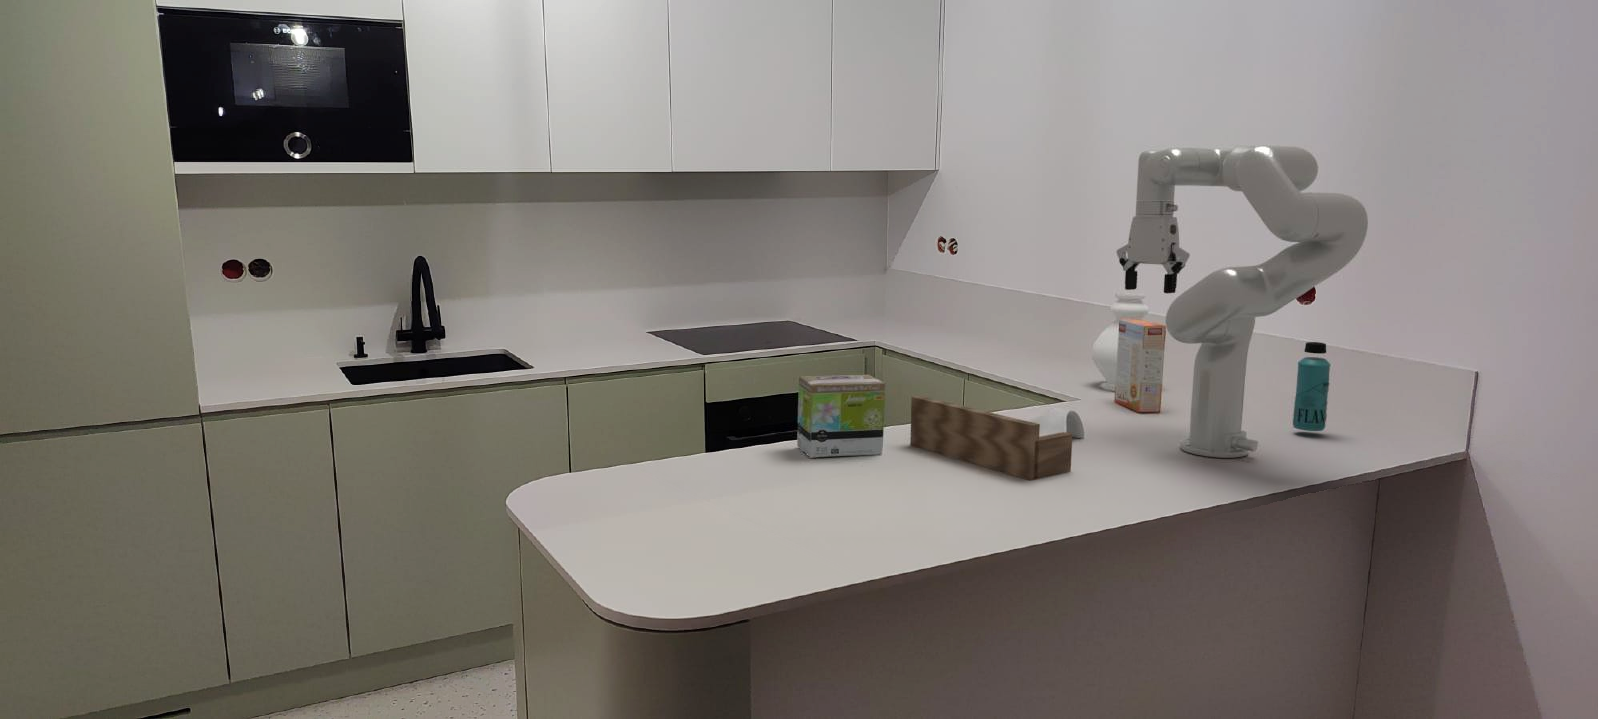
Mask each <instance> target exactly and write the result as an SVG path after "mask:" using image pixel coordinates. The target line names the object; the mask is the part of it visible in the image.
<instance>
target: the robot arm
mask: <svg viewBox="0 0 1598 719" xmlns="http://www.w3.org/2000/svg"><path fill="white" fill-rule="evenodd" d="M1137 165H1138V166H1137V167H1138V168H1137V184H1136V202H1135V203H1136V204H1135V216H1132V220H1131V224H1130V228H1129V235H1128V240H1127V241H1128V242H1127V244H1125V245H1123V246H1122V247H1120V248H1118V249H1117V250H1116V256H1117V258H1118V259H1119V261H1118V262H1119V264H1120V265H1121V267H1122V270H1123V271H1124V274H1125V275H1124V289H1125V291H1126V290H1127V291H1130V290H1131V291H1133V290H1136V289H1137V288H1138V287H1137V285H1138V270H1136V269H1137V268H1138V267H1139V265H1140V264H1146V265H1162V266H1163V268H1164V269H1165V271H1166V274H1164V278H1163V293H1164V294H1175V293H1176V292H1177V290H1176V289H1177V284H1178V283H1177V282H1178V279H1177V278H1178V275H1179V274H1180V273H1181V270H1183V269H1184V268H1185V267H1186V263H1187V262H1188V260H1189V259H1190V253H1189V252H1188V251H1186V250H1184V249H1183V248H1182V247H1180V230H1179V222H1178V218H1177V216H1174V212H1177V211H1178V209H1179V205H1177V204H1175V189H1176V186H1178V187H1179V186H1182V187H1183V186H1185V187H1186V186H1191V187H1192V186H1196V187H1224V188H1225V187H1226V188H1228V189H1229V190H1231V191H1234V192H1241V193H1242V194H1243V195H1244V197H1245V198H1246V200H1247V201H1248V202H1249V205H1251V207H1252V208H1253V210H1254V211H1255V212H1256V214H1257V215H1258V217H1259V218H1260V219H1261V221H1262V222H1263V224H1264V225H1265V226H1266V228H1267V229H1268V230H1269V231H1270V233H1272V234H1273V235H1274V236H1275V237H1276V238H1278V239H1280V240H1282V241H1285V242H1290V243H1294V244H1292V245H1290V246H1287V247H1286V248H1284V249H1282V250H1280V252H1278V253H1277V254H1275V255H1274V256H1272V257H1271V258H1269V259H1267V260H1266V261H1263V262H1262V263H1260V264H1256V265H1249V266H1228V267H1223V268H1220V269H1218V270H1216V271H1215V270H1214V271H1213V272H1211V273H1209V274H1208V275H1207V276H1205V277H1203V278H1202V279H1201V280H1199V281H1198V282H1197V283H1195V284H1194V285H1192V286H1191V287H1189V288H1188V289H1186V290H1185V291H1183V292H1182V293H1181V294H1180V295H1179V296H1177V297H1176V298H1175V299H1174V300H1173V301H1172V302H1171V304H1170V305H1169V307H1168V308H1167V311H1166V315H1165V326H1166V331H1167V332H1168V334H1169V335H1170V336H1171V337H1172V338H1173V339H1174V340H1175V341H1177V342H1179V343H1183V344H1189V345H1190V344H1200V346H1199V348H1198V350H1197V353H1196V355H1195V359H1194V365H1193V377H1192V389H1191V390H1192V393H1191V410H1190V421H1189V422H1190V424H1189V437H1188V438H1187V439H1182V441H1181V442H1180V449H1181V450H1182V451H1184V452H1186V453H1189V454H1192V455H1196V456H1197V455H1198V456H1201V457H1202V456H1203V457H1209V458H1218V459H1220V458H1221V459H1222V458H1223V459H1227V458H1228V459H1229V458H1230V459H1232V458H1241V457H1245V456H1247V455H1248V454H1249V452H1252V453H1253V452H1256V451H1257V449H1258V445H1259V442H1258V440H1257V439H1250V438H1247V431H1246V430H1242V424H1243V423H1242V422H1243V413H1244V412H1243V409H1244V400H1245V398H1244V397H1245V385H1246V384H1245V383H1246V375H1247V374H1246V373H1247V361H1248V354H1249V346H1250V343H1251V340H1252V336H1253V333H1254V329H1255V326H1256V318H1261V317H1266V316H1269V315H1272V314H1274V313H1276V312H1277V311H1279V310H1280V309H1282V308H1284V307H1285V306H1287V305H1289V303H1291V302H1293V301H1294V300H1296V299H1298V298H1299V297H1301V296H1302V295H1304V294H1305V293H1307V292H1308V291H1310V290H1311V289H1313V288H1314V287H1316V286H1317V285H1319V284H1321V283H1322V282H1324V281H1325V280H1327V279H1330V278H1331V277H1332V276H1334V275H1336V274H1337V273H1338V272H1340V271H1341V270H1342V269H1344V268H1345V267H1346V266H1348V264H1350V262H1352V260H1353V259H1354V258H1355V257H1356V256H1357V255H1358V253H1359V252H1360V250H1361V248H1362V247H1363V244H1364V241H1365V239H1366V237H1367V232H1368V229H1369V228H1368V225H1369V221H1368V214H1367V210H1366V208H1365V206H1364V205H1363V203H1361V201H1359V200H1358V199H1357V198H1354V197H1352V196H1350V195H1347V194H1344V193H1337V192H1302V191H1305V190H1306V189H1308V188H1309V187H1311V185H1313V183H1314V182H1315V180H1316V179H1317V177H1318V173H1319V165H1318V161H1317V160H1316V158H1315V156H1314V155H1313V154H1312V153H1311V152H1310V151H1309V150H1307V149H1304V148H1301V147H1297V146H1284V145H1283V146H1281V145H1261V146H1260V145H1239V146H1236V147H1234V148H1232V149H1225V148H1223V149H1221V148H1202V147H1200V148H1199V147H1171V148H1166V149H1163V150H1162V149H1161V150H1160V149H1159V150H1158V149H1157V150H1155V149H1154V150H1144V151H1142V152H1141V153H1140V154H1139V156H1138V164H1137Z"/></svg>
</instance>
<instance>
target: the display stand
mask: <svg viewBox="0 0 1598 719" xmlns="http://www.w3.org/2000/svg"><path fill="white" fill-rule="evenodd" d="M910 401H911V403H910V405H911V406H910V438H909V440H910V446H913V447H915V446H917V447H916V448H918V449H919V448H920V449H923V450H926V451H930V452H932V453H935V454H940V455H942V456H945V457H950V458H953V459H956V460H960V461H962V462H966V463H969V464H974V465H977V466H980V467H983V468H987V469H991V470H993V471H997V472H1001V473H1004V474H1007V475H1010V476H1014V477H1016V478H1021V479H1024V480H1028V481H1032V480H1038V479H1042V478H1046V477H1051V476H1056V475H1059V474H1065V473H1068V472H1069V473H1070V472H1071V471H1072V470H1071V469H1072V455H1073V454H1072V452H1073V451H1072V448H1073V437H1072V434H1070V433H1065V432H1062V433H1057V434H1052V435H1046V436H1041V437H1039V431H1040V424H1037V423H1033V422H1028V421H1029V420H1028V421H1027V420H1024V419H1021V418H1016V417H1011V416H1007V415H1002V414H999V413H993V412H989V411H986V410H982V409H976V408H972V407H968V406H966V405H965V406H964V405H961V404H960V405H959V404H955V403H951V402H946V401H944V400H938V399H934V398H929V397H925V396H921V395H914V396H911V400H910Z"/></svg>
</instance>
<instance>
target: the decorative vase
mask: <svg viewBox="0 0 1598 719" xmlns="http://www.w3.org/2000/svg"><path fill="white" fill-rule="evenodd" d="M1114 297H1115V298H1117V299H1118V300H1117V301H1115V302H1114V303H1113V304H1112V305H1111V306H1110V313H1111V314H1112V316H1114V317H1115V318H1116V319H1115V320H1114V321H1113V322H1112V323H1110V324H1109V325H1108V326H1107V327H1106V328H1105V329H1104V330H1103V331H1102V332H1100V335H1099V336H1098V337H1097V339H1096V340H1095V341H1094V343H1093V346H1092V349H1091V359H1092V361H1093V363H1094V365H1095V366H1096V368H1097V369H1098V371H1099V373H1100V374H1102V376H1103V377H1104V379H1105V380H1106V382H1102V383H1100V384H1099V385H1100V386H1099V388H1101V389H1103V390H1105V391H1109V392H1110V391H1111V392H1115V383H1116V367H1117V351H1118V333H1119V320H1120V319H1141V320H1143V318H1144V317H1146V315H1148V313H1149V308H1148V306H1147V304H1146V303H1144V302H1143V299H1145V298H1146V294H1144V293H1135V292H1118V293H1115V294H1114Z"/></svg>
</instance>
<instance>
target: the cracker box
mask: <svg viewBox="0 0 1598 719" xmlns="http://www.w3.org/2000/svg"><path fill="white" fill-rule="evenodd" d="M1166 333H1167V327H1166V324H1165V325H1164V324H1162V323H1161V324H1160V323H1156V322H1153V321H1149V320H1144V319H1120V320H1119V333H1118V351H1117V367H1116V383H1115V391H1114V403H1116V404H1119V405H1121V406H1124V407H1126V408H1128V409H1129V410H1132V411H1135V412H1136V413H1138V414H1139V413H1142V414H1144V413H1145V414H1146V413H1147V414H1148V413H1150V414H1151V413H1153V414H1154V413H1157V414H1158V413H1161V408H1162V407H1161V405H1162V391H1163V376H1164V361H1165V348H1166V335H1167V334H1166Z"/></svg>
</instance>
